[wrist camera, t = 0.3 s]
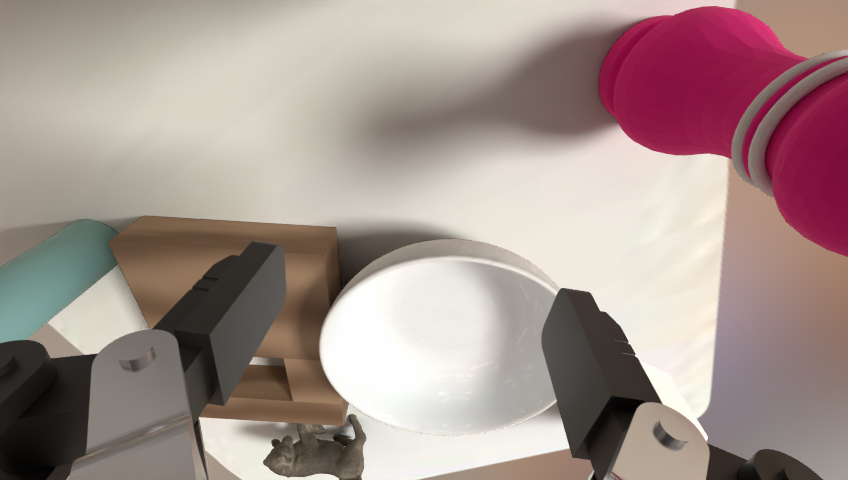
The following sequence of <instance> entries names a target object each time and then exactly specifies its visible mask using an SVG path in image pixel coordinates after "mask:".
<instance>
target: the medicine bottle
mask: <svg viewBox="0 0 848 480" xmlns="http://www.w3.org/2000/svg"><path fill="white" fill-rule="evenodd" d="M639 361H640V360H639ZM640 363H641V365H642V367H643V369H644V370H645V372H646V374H647V376H648V378H649V380H650V381H651V383H652V385H653V387H654V389H655V390H656V392H657V394H658V396H659V398H660V400H661V401H662V403H663V405H666V406H668V407H670V408H672V409H674V410H676V411H678V412H679V413H681V414H682V415H684V416H685V417H686V418H687V419H689V420H690V421H691V422H692V423H693V424H694V425H695V426H696V427H697V428H698V430H699V431H700V432H701V434H702V435H703V436H704V438H705V440H706V441H707V439H708V437H707V435H706V433H705V431H704V430H703V428H702V427H701V425H700V423H699V422H698V420H697V419H696V417H695V415H694V414H693V412H692V410H691V409H690V407H689V406H688V404H687V402H686V401H685V399H684V397H683V396H682V394H681V393H680V391H679V389H678V388H677V386H676V384H675V383H674V381H673V380H672V378H671V376H670V375H669V374H668V373H666V372H664V371H662V370H660V369H657V368H655V367H653V366H651V365H649V364H646V363H644V362H642V361H640Z"/></svg>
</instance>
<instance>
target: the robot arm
mask: <svg viewBox="0 0 848 480" xmlns="http://www.w3.org/2000/svg"><path fill="white" fill-rule="evenodd" d="M285 296H286V272H285V255H284V248H283V245H282V244H276V243H270V242H263V241H257V240H254V241H252V242H251V243H250V244H249V245H248V246H247V247H246V249H245V250H244V251H243V252H242V253H241V254H240V255H239V256H237V255H230V256H228V257H226V258H224V259H223V260H221V261H219V262H217V263H215V264H214V265H213V266H212V267H211V268H210V269H209V270H208V271H207V272H206V273H205V274H204V275H203V276H202V279H199V280H198V281H197V282H196V283H195V284H194V285H193V287H192V290H189V291H188V292H187V293H186V294H185V295H184V296H183V297H182V298H181V299H180V300H179V301H178V302H177V303H176V304H175V305H174V306H173V307H172V308H171V309H170V311H169V312H168V313H167V314H166V315H165V316H164V317H163V318H162V319H161V320H160V321H159V322H158V323H157V324H156V325H155V326H154V327H153V328H152V329H151V330H142V331H137V332H134V333H130V334H127V335H125V336H122V337H120V338H118V339H116V340H115V341H113V342H111V343H110V344H108V345H107V346H106V347H105V348H103V349H102V350H101V351H100V352H99V353H98V354H90V355H81V356H71V357H61V358H52V359H51V358H50V356H49V354H48V353H47V351H46V349H45V347H44V346H43V345H42V344H40V343H38V342H35V341H30V340H15V341H8V342H3V343H0V480H66V479H67V477H68V476H69V475H70V480H210V476H209V470H208V465H207V459H206V454H205V448H204V443H203V437H202V431H201V426H200V421H199V416H200V415H201V413H202V412H203V410H204V408H205V407H206V405H207V404H213V405H220V406H225V405H226V403H227V401H228V399H229V398H230V396H231V394H232V393H233V391H234V389H235V387H236V386H237V384H238V382H239V380H240V379H241V377H242V375H243V374H244V372H245V370H246V368H247V367H248V365H249V363H250V362H251V360H252V358H253V356H254V355H255V353H256V351H257V349H258V348H259V346H260V344H261V343H262V341H263V339H264V337H265V336H266V334H267V332H268V330H269V329H270V327H271V325H272V324H273V322H274V320H275V318H276V317H277V315H278V313H279V312H280V310H281V308H282V306H283V303H284V300H285ZM628 342H629V341H628V340H627V338H626V336H625V334H624V332H623V330H622V329H621V327H620V326H619V325H618V324H617V323H616V322H615V321H614V320H613V319H612V318H611V317H610V316H609V315H608V314H607V313H606V312H601V311H600V310H599V308H598V306H597V304H596V302H595V300H594V298H593V296H592V295H591V293H589V292H586V291H579V290H573V289H566V288H561V289H560V290H559V291H558V293H557V295H556V298H555V300H554V302H553V305H552V307H551V309H550V312H549V314H548V317H547V319H546V321H545V324H544V326H543V330H542V336H541V344H542V350H543V353H544V357H545V360H546V364H547V368H548V371H549V375H550V378H551V382H552V386H553V389H554V393H555V396H556V400H557V404H558V407H559V411H560V414H561V418H562V421H563V425H564V429H565V432H566V436H567V439H568V443H569V447H570V450H571V454H572V457H573V458H580V459H588V460H591V463H592V467H593V472H592V473H591V475H590V476H589V478H588V480H823V479H822V478H820V477H819V476H818V475H817V474H816V473H815V472H813V471H812V470H811V469H810V468H808V467H807V466H806V465H804V464H803V463H801V462H800V461H798V460H796V459H794V458H793V457H791V456H788V455H787V454H784V453H782V452H779V451H775V450H770V449H763V450H760V451H758V452H757V453H756V454H755V455H754V456H752V457H751V458H750V459H749V460H745V459H743V458H741V457H738V456H736V455H733V454H731V453H729V452H726V451H724V450H722V449H719V448H717V447H714V446H712V445H710V444H708V443H707V442H706V440H705V438H704V436H703V435H702V434H701V432H700V431H699V430H698V428H697V427H696V426H695V425H694V424H693V423H692V422H691V421H690V420H689V419H687V418H686V417H685V416H684V415H682V414H681V413H679V412H678V411H676V410H674V409H672V408H670V407H668V406H666V405H663V403H662V401H661V400H660V398H659V396H658V394H657V392H656V390H655V389H654V387H653V385H652V383H651V381H650V380H649V378H648V376H647V374H646V372H645V370H644V369H643V367H642V365H641V363H640V361H639V360H638V358H637V357H635V352H634V350H633V349H632V347H631V345H630V344H628Z"/></svg>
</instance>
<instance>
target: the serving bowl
mask: <svg viewBox="0 0 848 480" xmlns="http://www.w3.org/2000/svg"><path fill="white" fill-rule="evenodd" d="M559 290H560V288H559V287H558V286H557V285H556V283H555V282H554V281H553V280H552V279H551V278H550V277H549V276H548V275H547V274H545V273H544V272H543V271H542V270H541V269H539V268H538V267H537V266H536V265H534V264H533V263H531V262H530V261H528V260H526V259H525V258H523V257H521V256H519V255H517V254H515V253H513V252H511V251H509V250H506V249H503V248H501V247H498V246H495V245H491V244H487V243H483V242H477V241H472V240H462V239H440V240H430V241H425V242H419V243H415V244H411V245H408V246H404V247H402V248H399V249H396V250H394V251H392V252H390V253H387V254H385V255H383V256H382V257H380V258H378V259H376V260H375V261H373V262H372V263H370V264H369V265H367V266H366V267H365V268H363V269H362V270H361V271H360V272H359V273H358V274H357V275H355V276H354V277H353V278H352V279H351V280H350V282H349V283H348V284H347V285H346V286H345V287H344V288H343V290H342V291H341V292H340V294H339V295H338V297H337V298H336V300H335V302H334V303H333V305H332V306H331V308H330V310H329V312H328V314H327V315H326V317H325V320H324V322H323V325H322V328H321V333H320V338H319V355H320V360H321V364H322V367H323V370H324V372H325V374H326V376H327V378H328V380H329V382H330V383H331V385H332V386H333V387H334V389H335V390H336V391H337V392H338V393H339V394H340V395H341V396H342V398H344V399H345V400H346V401H347V402H348V403H349V404H350V405H352V406H353V407H354V408H356V409H357V410H359V411H360V412H361V413H363V414H365V415H367V416H368V417H370V418H372V419H374V420H376V421H379V422H381V423H384V424H386V425H389V426H392V427H395V428H398V429H402V430H406V431H410V432H415V433H421V434H429V435H441V436H460V435H472V434H480V433H486V432H491V431H496V430H500V429H504V428H507V427H510V426H513V425H516V424H519V423H521V422H524V421H526V420H528V419H530V418H533V417H534V416H536V415H538V414H540V413H542V412H543V411H545V410H546V409H548V408H549V407H550V406H552V405H553V404H554V403H556V402H557V400H556V396H555V393H554V389H553V386H552V382H551V378H550V375H549V371H548V368H547V364H546V360H545V357H544V353H543V350H542V344H541V336H542V330H543V326H544V324H545V321H546V319H547V317H548V314H549V312H550V309H551V307H552V305H553V302H554V300H555V298H556V295H557V293H558V291H559Z"/></svg>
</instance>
